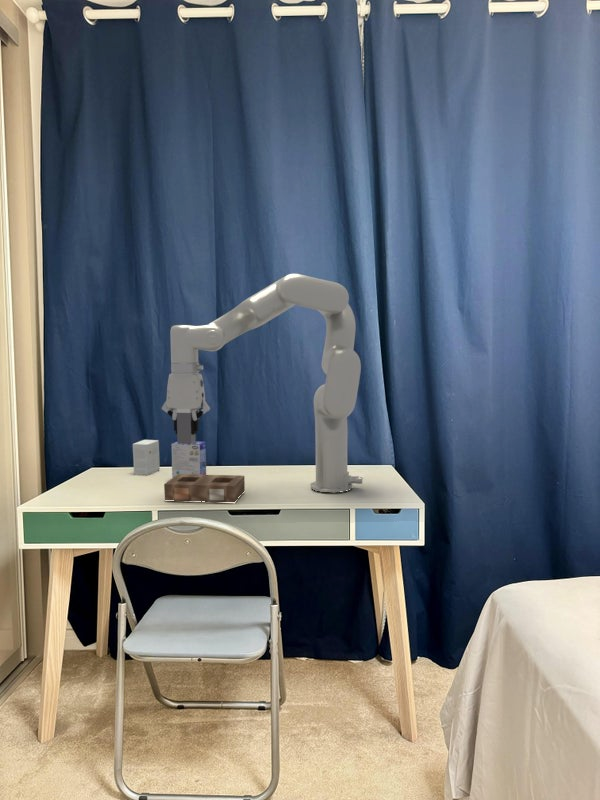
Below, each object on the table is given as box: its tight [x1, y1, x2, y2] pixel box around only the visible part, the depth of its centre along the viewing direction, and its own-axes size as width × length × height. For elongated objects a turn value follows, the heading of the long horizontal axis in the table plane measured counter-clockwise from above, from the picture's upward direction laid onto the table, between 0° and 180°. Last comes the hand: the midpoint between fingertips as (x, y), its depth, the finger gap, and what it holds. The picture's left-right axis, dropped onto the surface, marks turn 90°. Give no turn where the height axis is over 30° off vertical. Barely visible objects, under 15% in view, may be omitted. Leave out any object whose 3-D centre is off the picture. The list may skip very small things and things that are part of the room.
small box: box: [132, 439, 161, 476], centre depth 203 cm, size 8×6×10 cm
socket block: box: [163, 474, 246, 502], centre depth 172 cm, size 20×12×5 cm, turn 82°
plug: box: [176, 409, 197, 444], centre depth 171 cm, size 4×4×10 cm
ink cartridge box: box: [171, 441, 207, 479], centre depth 192 cm, size 10×6×14 cm, turn 78°
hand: (186, 433), depth 171 cm, fingers closed on plug, 4 cm apart
